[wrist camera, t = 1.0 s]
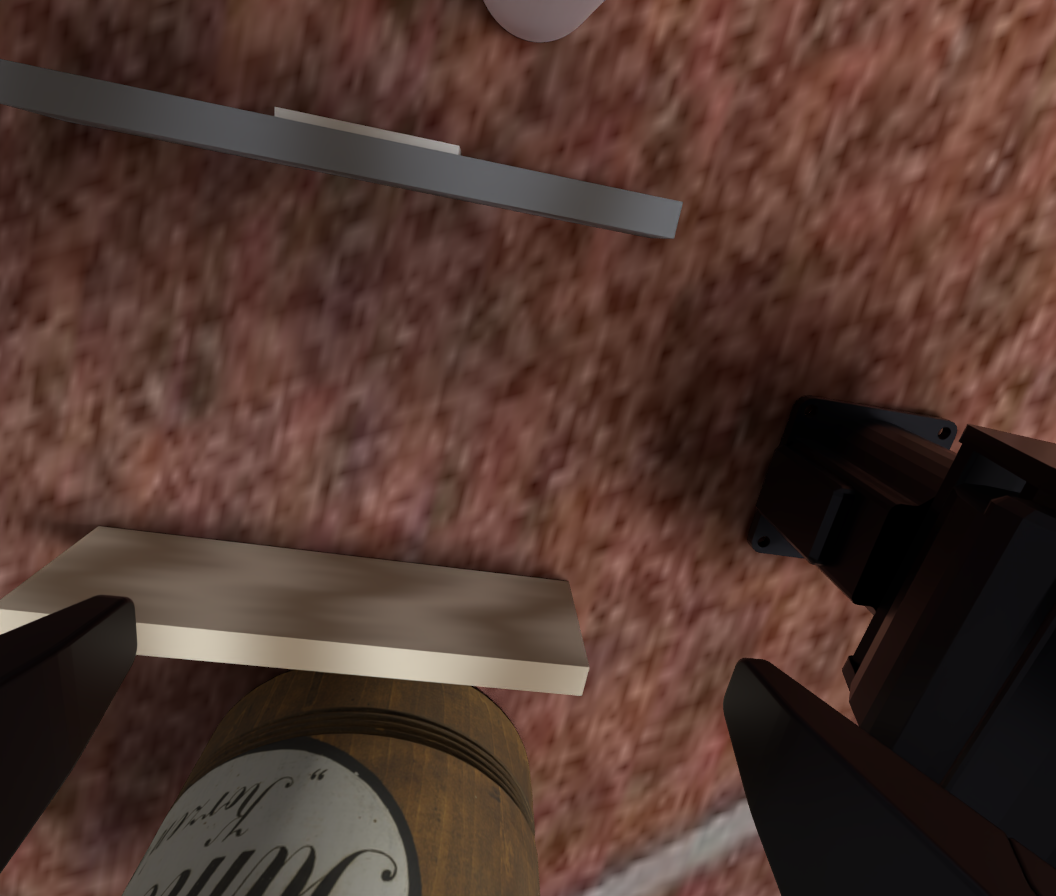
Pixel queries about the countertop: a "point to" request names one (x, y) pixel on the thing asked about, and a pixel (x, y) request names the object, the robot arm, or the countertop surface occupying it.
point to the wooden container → (351, 796)
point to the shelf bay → (306, 576)
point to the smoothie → (541, 17)
